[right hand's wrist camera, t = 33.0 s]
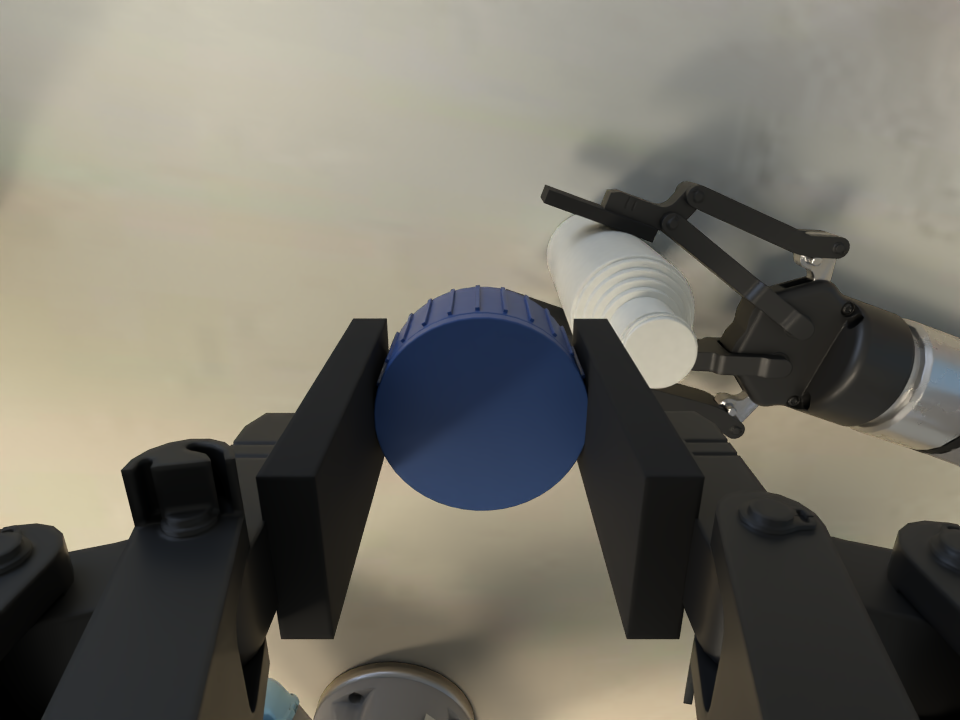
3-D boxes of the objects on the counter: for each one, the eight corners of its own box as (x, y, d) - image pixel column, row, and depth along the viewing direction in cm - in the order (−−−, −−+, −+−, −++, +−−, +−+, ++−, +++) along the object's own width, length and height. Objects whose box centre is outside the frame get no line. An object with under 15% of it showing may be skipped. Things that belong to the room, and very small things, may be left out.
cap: (474, 490, 15) (473, 548, 13) (346, 369, 14) (324, 412, 12) (614, 382, 14) (637, 428, 12) (489, 242, 13) (491, 266, 11)
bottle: (592, 192, 41) (670, 250, 23) (649, 254, 43) (765, 355, 25) (528, 254, 43) (554, 354, 25) (585, 312, 44) (649, 446, 26)
